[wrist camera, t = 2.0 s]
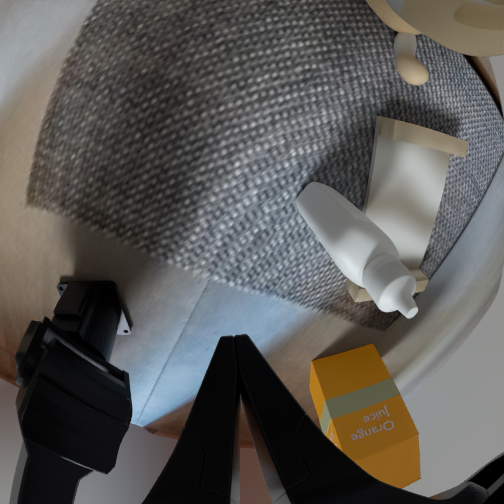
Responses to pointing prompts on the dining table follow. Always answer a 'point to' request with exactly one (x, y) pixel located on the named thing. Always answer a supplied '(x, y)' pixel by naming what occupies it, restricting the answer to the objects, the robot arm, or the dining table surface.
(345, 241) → the eye dropper bottle
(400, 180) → the u rest
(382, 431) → the orange juice
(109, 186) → the dining table surface
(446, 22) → the kitten
